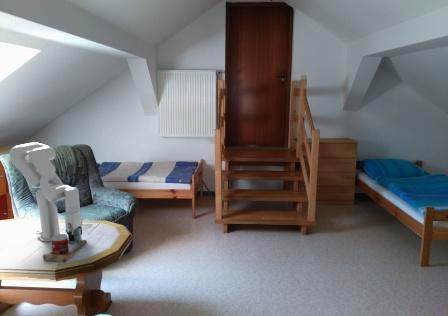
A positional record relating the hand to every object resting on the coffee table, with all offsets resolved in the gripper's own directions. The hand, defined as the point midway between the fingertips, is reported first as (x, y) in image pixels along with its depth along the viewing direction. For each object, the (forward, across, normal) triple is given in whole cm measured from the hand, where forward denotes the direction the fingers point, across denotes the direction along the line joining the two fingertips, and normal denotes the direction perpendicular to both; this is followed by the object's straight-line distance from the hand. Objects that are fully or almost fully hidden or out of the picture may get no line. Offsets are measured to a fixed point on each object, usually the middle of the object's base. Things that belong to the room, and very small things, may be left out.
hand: (75, 237), depth 203 cm
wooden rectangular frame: (+3, +10, 0) cm, 11 cm away
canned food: (+4, +16, 0) cm, 16 cm away
